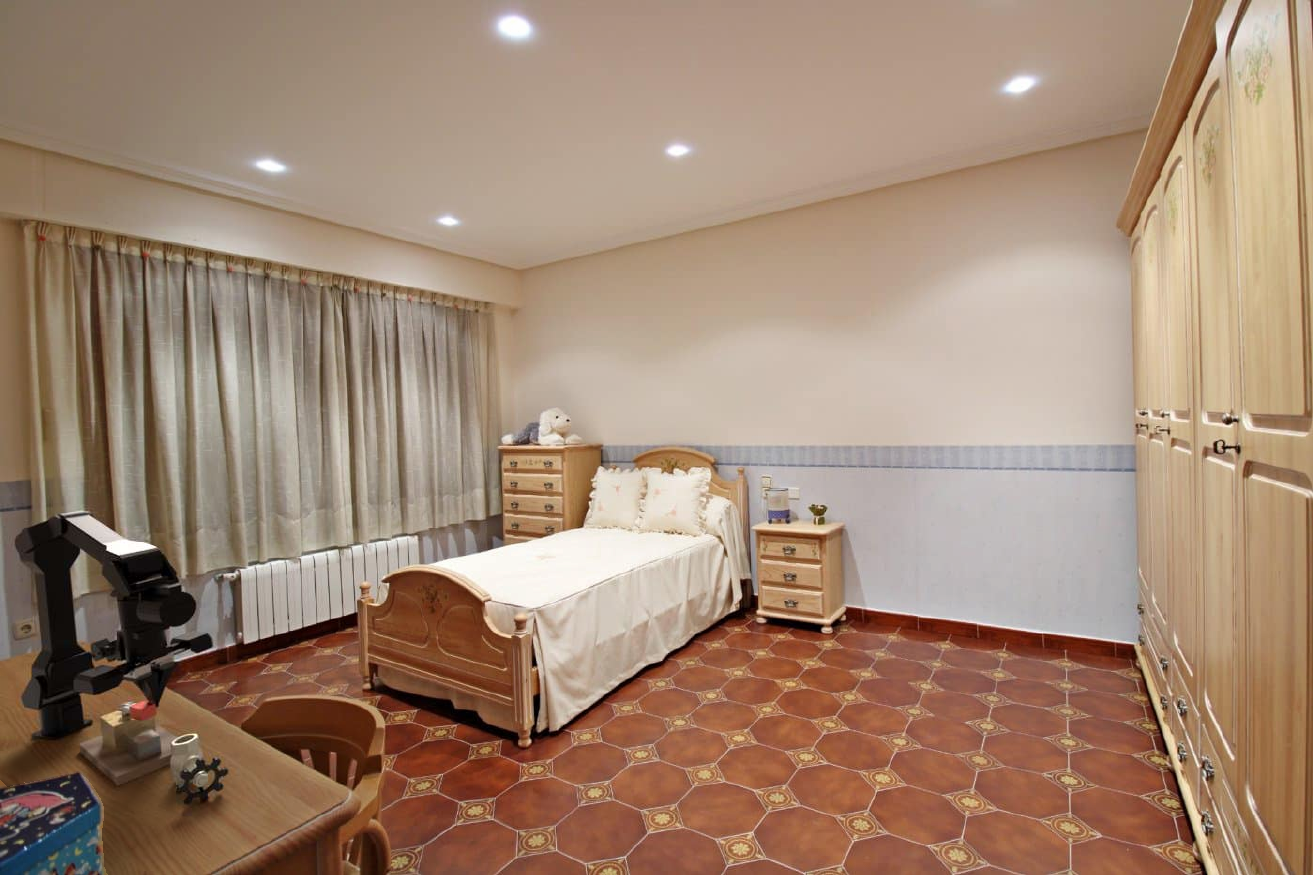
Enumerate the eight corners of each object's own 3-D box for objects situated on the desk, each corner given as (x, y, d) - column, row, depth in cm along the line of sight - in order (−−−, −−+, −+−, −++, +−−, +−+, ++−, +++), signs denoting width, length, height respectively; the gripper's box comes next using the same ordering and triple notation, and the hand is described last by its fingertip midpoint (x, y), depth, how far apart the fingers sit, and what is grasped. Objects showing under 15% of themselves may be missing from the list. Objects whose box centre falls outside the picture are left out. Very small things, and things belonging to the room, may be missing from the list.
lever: (116, 713, 109) (114, 702, 109) (130, 707, 111) (129, 696, 111) (141, 721, 106) (140, 709, 106) (156, 715, 108) (155, 703, 108)
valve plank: (79, 751, 111) (78, 743, 111) (149, 725, 119) (148, 718, 119) (117, 785, 99) (116, 776, 99) (191, 754, 108) (190, 746, 107)
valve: (159, 784, 99) (177, 814, 91) (155, 744, 99) (173, 770, 91) (209, 764, 104) (230, 791, 96) (205, 726, 104) (226, 750, 96)
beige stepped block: (98, 740, 111) (94, 707, 111) (137, 726, 116) (134, 694, 115) (129, 766, 102) (125, 730, 102) (171, 749, 107) (167, 715, 106)
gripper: (170, 599, 119) (181, 677, 121) (47, 639, 102) (61, 730, 104) (209, 603, 115) (220, 684, 117) (88, 645, 98) (102, 739, 99)
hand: (154, 707), depth 109 cm, fingers closed
